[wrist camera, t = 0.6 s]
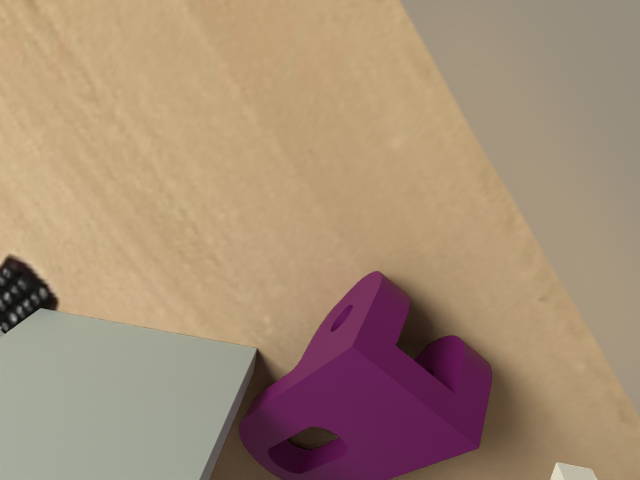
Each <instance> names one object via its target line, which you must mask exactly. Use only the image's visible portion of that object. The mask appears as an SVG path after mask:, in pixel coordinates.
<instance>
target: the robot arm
mask: <svg viewBox="0 0 640 480" xmlns="http://www.w3.org/2000/svg"><path fill="white" fill-rule="evenodd" d="M550 480H597V478H596V476H595V474H594V472H593V471H592V469H589V468H584V467H579V466H574V465H569V464H564V463H559V462H556V465H555V468H554V471H553V474H552V476H551V479H550Z"/></svg>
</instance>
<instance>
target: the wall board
mask: <svg viewBox="0 0 640 480" xmlns="http://www.w3.org/2000/svg"><path fill="white" fill-rule="evenodd" d="M256 353H257V348H253V347H248V346H242V345H237V344H231V343H226V342H221V341H215V340H210V339H204V338H199V337H193V336H188V335H183V334H177V333H172V332H166V331H161V330H155V329H150V328H145V327H139V326H134V325H128V324H123V323H117V322H112V321H107V320H101V319H96V318H90V317H85V316H79V315H74V314H69V313H63V312H58V311H52V310H47V309H41V308H40V309H39V310H38V311H36V312H35V313H33V314H32V315H31V316H29V317H28V318H27V319H25V320H24V321H22V322H21V323H20V324H18V325H17V326H16V327H14V328H13V329H11V330H10V331H9V332H7V333H6V334H5V335H3V336H2V337H0V480H209V479H210V476H211V474H212V472H213V469H214V467H215V464H216V462H217V460H218V457H219V455H220V452H221V450H222V448H223V445H224V443H225V440H226V438H227V436H228V433H229V431H230V428H231V426H232V424H233V421H234V419H235V416H236V414H237V412H238V409H239V407H240V404H241V402H242V400H243V397H244V395H245V392H246V390H247V388H248V385H249V383H250V380H251V378H252V376H253V373H254V370H255V361H256Z"/></svg>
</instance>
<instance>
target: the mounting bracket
mask: <svg viewBox="0 0 640 480" xmlns="http://www.w3.org/2000/svg"><path fill="white" fill-rule="evenodd" d="M409 308H410V298H409V296H408V295H407V294H406V293H405V292H403V291H402V290H401V289H400V288H399V287H397V286H396V285H395V284H394V283H393V282H391V281H390V280H389V279H388V278H387V277H385V276H384V275H383V274H382V273H381V272H379V271H375V272H372V273H370V274H368V275H367V276H365V277H364V278H363V279H361V280H360V281H359V282H358V283H357V284H356V285H355V286H354V287H353V288H352V289H351V290H350V291H349V292H348V293H347V294H346V295H345V296H344V297H343V298H342V299H341V300H340V302H339V303H338V304H337V305H336V306H335V307H334V308H333V309H332V310H331V312H330V313H329V314H328V315H327V317H326V318H325V320H324V321H323V322H322V324H321V325H320V327H319V328H318V330H317V331H316V333H315V335H314V336H313V338H312V340H311V342H310V344H309V345H308V347H307V349H306V351H305V353H304V355H303V357H302V358H301V360H300V362H299V363H298V365H297V366H296V367H295V368H294V369H293V370H292V371H291V372H290V373H288V374H287V375H285V376H284V377H282V378H281V379H280V380H278V381H277V382H275V383H274V384H273V385H271V386H270V387H268V388H267V389H265V390H264V391H263V392H261V393H260V394H259V395H257V396H256V398H255V399H254V401H253V402H252V404H251V406H250V408H249V409H248V411H247V413H246V415H245V416H244V418H243V420H242V421H241V424H240V427H239V433H240V437H241V440H242V442H243V444H244V446H245V447H246V449H247V450H248V452H249V453H250V454H251V455H252V456H253V457H254V459H255V460H256V461H258V462H259V463H260V464H261V465H262V466H263V467H264V468H266V469H267V470H268V471H270V472H271V473H273V474H274V475H275V476H277V477H279V478H280V479H282V480H388V479H391V478H393V477H396V476H399V475H402V474H405V473H408V472H411V471H414V470H417V469H420V468H423V467H425V466H428V465H431V464H434V463H437V462H440V461H443V460H446V459H449V458H452V457H455V456H457V455H460V454H463V453H466V452H469V451H472V450H475V449H478V448H479V445H480V440H481V435H482V429H483V424H484V419H485V414H486V409H487V404H488V399H489V394H490V389H491V383H492V370H491V367H490V364H489V363H488V362H487V361H486V360H485V359H484V358H483V357H482V356H481V355H479V354H478V353H477V352H476V351H474V350H473V349H472V348H471V347H470V346H468V345H467V344H466V343H465V342H464V341H462V340H461V339H460V338H459V337H457V336H445V337H442V338H440V339H438V340H436V341H434V342H432V343H431V344H430V345H429V346H428V347H427V348H426V349H425V350H424V351H422V352H421V353H420V354H419V355H418V356H417V357H416V358H415V359H414V360H413V359H412V358H410V357H409V356H408V355H407V354H405V353H404V352H403V351H402V350H400V349H399V348H398V347H397V346H396V343H397V341H398V338H399V336H400V333H401V330H402V328H403V325H404V322H405V320H406V317H407V314H408V311H409ZM309 427H320V428H324V429H327V430H329V431H331V432H333V433H334V434H336V435H337V436H339V438H337V439H335V440H333V441H330V442H328V443H326V444H324V445H322V446H320V447H318V448H316V449H313V450H304V449H301V448H298V447H296V446H294V445H292V444H291V443H289V442H288V441H287V440H286V439H288V438H290V437H291V436H293V435H295V434H297V433H299V432H301V431H303V430H304V429H306V428H309Z"/></svg>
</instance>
